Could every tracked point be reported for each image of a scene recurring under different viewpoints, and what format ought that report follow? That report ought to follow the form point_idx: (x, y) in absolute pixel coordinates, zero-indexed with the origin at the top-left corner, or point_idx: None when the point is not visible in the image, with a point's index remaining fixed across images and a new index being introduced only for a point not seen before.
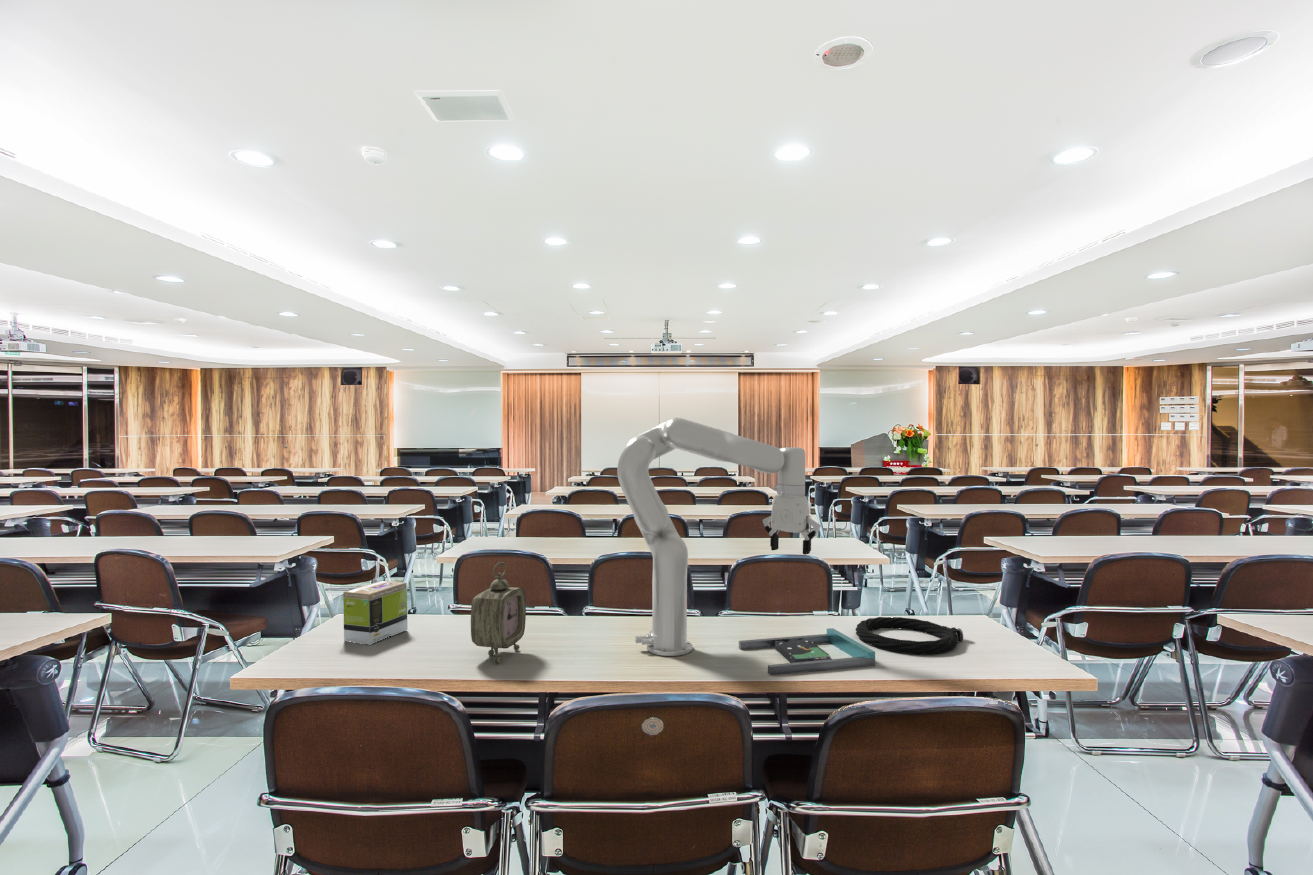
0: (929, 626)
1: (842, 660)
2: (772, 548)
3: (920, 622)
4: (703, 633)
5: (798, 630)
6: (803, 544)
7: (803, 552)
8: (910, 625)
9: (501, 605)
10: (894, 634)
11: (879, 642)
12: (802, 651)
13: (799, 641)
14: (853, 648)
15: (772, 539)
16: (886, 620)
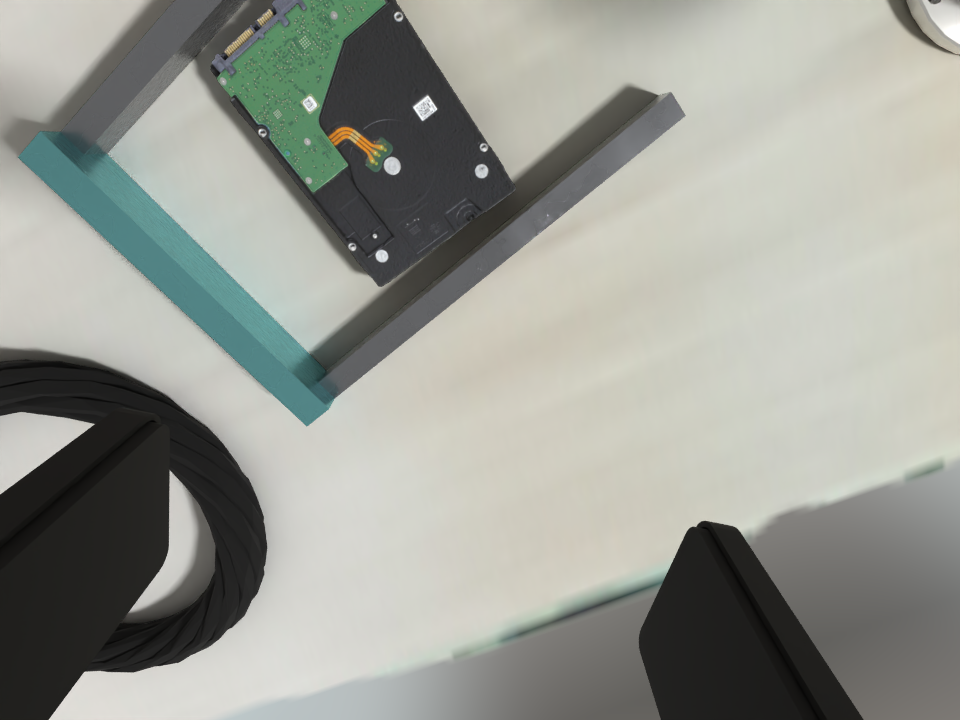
0: None
1: (145, 35)
2: (721, 537)
3: None
4: (867, 258)
5: (479, 466)
6: (18, 516)
7: (134, 424)
8: None
9: None
10: None
11: (113, 386)
12: (354, 84)
13: (410, 239)
14: (159, 232)
15: (812, 677)
16: (175, 632)
